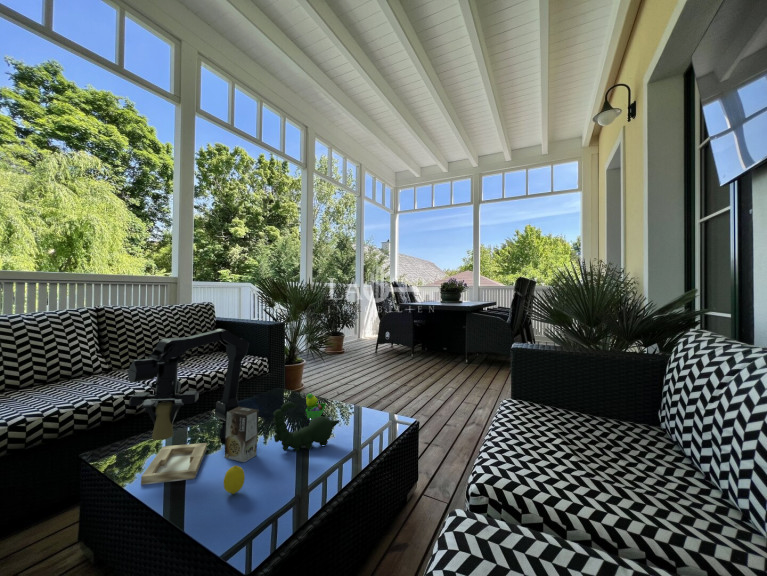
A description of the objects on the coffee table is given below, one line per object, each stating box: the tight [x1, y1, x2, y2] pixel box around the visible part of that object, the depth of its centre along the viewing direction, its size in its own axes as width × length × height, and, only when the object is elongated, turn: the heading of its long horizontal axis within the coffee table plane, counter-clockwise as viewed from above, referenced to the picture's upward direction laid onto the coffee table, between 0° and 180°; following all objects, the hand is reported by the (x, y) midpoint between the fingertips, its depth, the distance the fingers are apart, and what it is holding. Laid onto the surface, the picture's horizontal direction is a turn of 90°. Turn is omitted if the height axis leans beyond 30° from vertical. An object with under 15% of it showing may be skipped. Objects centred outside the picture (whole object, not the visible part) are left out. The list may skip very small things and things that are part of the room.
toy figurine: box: [272, 401, 340, 452], centre depth 125 cm, size 9×19×25 cm
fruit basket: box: [305, 393, 327, 419], centre depth 157 cm, size 11×9×11 cm
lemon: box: [223, 465, 246, 495], centre depth 94 cm, size 6×6×8 cm
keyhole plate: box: [140, 442, 208, 486], centre depth 107 cm, size 14×20×2 cm
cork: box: [151, 401, 174, 441], centre depth 109 cm, size 6×6×11 cm
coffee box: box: [224, 406, 260, 463], centre depth 116 cm, size 9×6×16 cm
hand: (163, 423), depth 109 cm, fingers closed on cork, 4 cm apart
